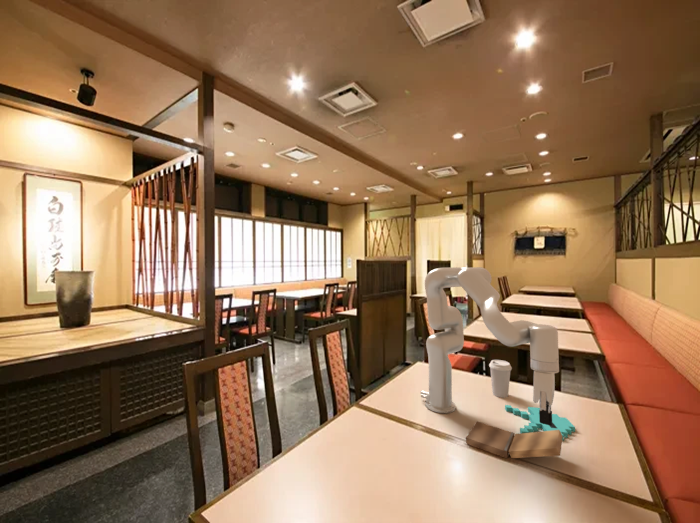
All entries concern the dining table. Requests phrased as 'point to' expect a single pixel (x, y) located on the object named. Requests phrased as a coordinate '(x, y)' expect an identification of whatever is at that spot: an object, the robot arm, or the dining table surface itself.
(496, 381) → the coffee cup
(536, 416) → the alien figure
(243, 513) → the dining table surface
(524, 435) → the oak plank
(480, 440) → the walnut board
